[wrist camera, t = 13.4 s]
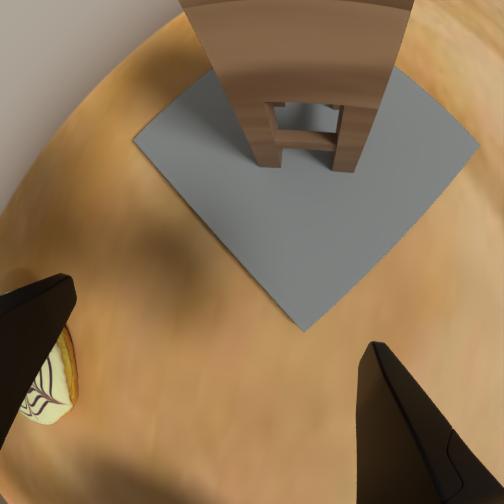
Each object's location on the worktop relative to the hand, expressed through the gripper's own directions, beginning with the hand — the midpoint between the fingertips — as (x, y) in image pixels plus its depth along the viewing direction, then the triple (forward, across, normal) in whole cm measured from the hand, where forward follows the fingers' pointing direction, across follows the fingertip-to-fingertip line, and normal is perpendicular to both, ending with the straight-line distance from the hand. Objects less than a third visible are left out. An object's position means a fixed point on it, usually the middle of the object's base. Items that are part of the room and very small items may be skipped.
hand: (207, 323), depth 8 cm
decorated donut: (+5, +15, +14) cm, 21 cm away
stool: (+12, -2, -4) cm, 13 cm away
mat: (+13, -2, -4) cm, 14 cm away
